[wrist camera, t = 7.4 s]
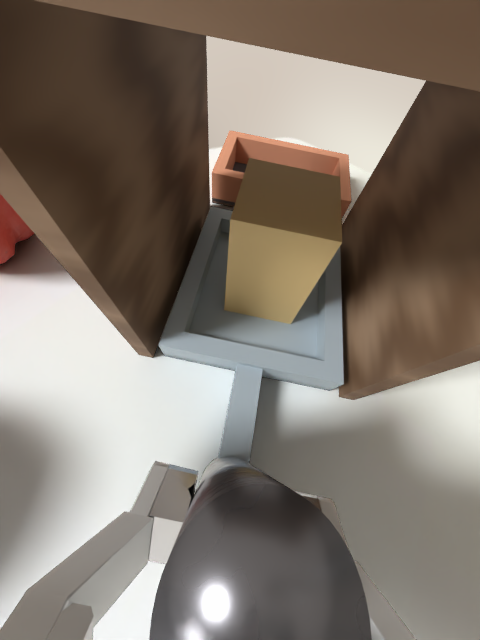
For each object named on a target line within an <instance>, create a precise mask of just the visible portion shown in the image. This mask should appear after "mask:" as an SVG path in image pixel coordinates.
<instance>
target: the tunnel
mask: <svg viewBox="0 0 480 640" xmlns="http://www.w3.org/2000/svg"><path fill="white" fill-rule="evenodd" d="M206 36H211V37H216V38H221V39H226V40H230V41H235V42H240V43H245V44H250V45H255V46H260V47H265V48H270V49H275V50H279V51H284V52H289V53H294V54H299V55H304V56H309V57H314V58H318V59H323V60H328V61H333V62H338V63H343V64H348V65H353V66H358V67H362V68H367V69H372V70H377V71H382V72H387V73H392V74H397V75H402V76H407V77H411V78H416V79H422V80H426V82H425V84H424V86H423V88H422V89H421V91H420V92H419V94H418V96H417V98H416V99H415V101H414V103H413V104H412V106H411V108H410V110H409V111H408V113H407V115H406V117H405V118H404V120H403V122H402V123H401V125H400V127H399V129H398V130H397V132H396V134H395V135H394V137H393V139H392V141H391V142H390V144H389V146H388V147H387V149H386V151H385V153H384V154H383V156H382V158H381V160H380V161H379V163H378V165H377V167H376V168H375V170H374V171H373V173H372V175H371V177H370V178H369V180H368V182H367V183H366V185H365V187H364V189H363V190H362V192H361V194H360V195H359V197H358V199H357V201H356V202H355V204H354V206H353V208H352V209H351V211H350V213H349V214H348V216H347V218H346V220H345V221H344V223H343V225H342V244H341V245H340V256H341V295H342V334H343V374H344V384H343V385H341V386H339V397H342V398H347V399H351V400H355V399H358V398H361V397H364V396H368V395H371V394H374V393H377V392H380V391H384V390H387V389H390V388H393V387H396V386H399V385H403V384H406V383H409V382H412V381H415V380H419V379H422V378H425V377H428V376H431V375H435V374H438V373H441V372H444V371H447V370H450V369H454V368H457V367H460V366H463V365H466V364H470V363H473V362H476V361H479V360H480V0H0V194H1V195H2V196H3V197H4V199H5V200H6V201H7V202H8V203H9V204H10V206H11V207H12V208H13V209H14V210H15V211H16V213H17V214H18V215H19V216H20V217H21V218H22V220H23V221H24V222H25V223H26V224H27V225H28V227H29V228H30V229H31V230H32V231H33V232H34V233H35V235H36V236H37V237H38V238H39V239H40V240H41V242H42V243H43V244H44V245H45V246H46V247H47V249H48V250H49V251H50V252H51V253H52V254H53V256H54V257H55V258H56V259H57V260H58V261H59V263H60V264H61V265H62V266H63V267H64V268H65V269H66V271H67V272H68V273H69V274H70V275H71V276H72V278H73V279H74V280H75V281H76V282H77V283H78V285H79V286H80V287H81V288H82V289H83V290H84V292H85V293H86V294H87V295H88V296H89V297H90V299H91V300H92V301H93V302H94V303H95V304H96V305H97V307H98V308H99V309H100V310H101V311H102V312H103V314H104V315H105V316H106V317H107V318H108V319H109V321H110V322H111V323H112V324H113V325H114V326H115V328H116V329H117V330H118V331H119V332H120V333H121V335H122V336H123V337H124V338H125V339H126V340H127V341H128V343H129V344H130V345H131V346H132V347H133V348H134V350H135V351H136V352H137V353H138V354H139V355H143V356H147V357H152V358H153V357H154V354H155V352H156V349H157V346H158V344H159V341H160V338H161V336H162V333H163V331H164V328H165V325H166V323H167V320H168V317H169V315H170V312H171V309H172V307H173V304H174V302H175V299H176V296H177V294H178V291H179V288H180V286H181V283H182V281H183V278H184V275H185V273H186V270H187V267H188V265H189V262H190V260H191V257H192V254H193V252H194V249H195V246H196V244H197V241H198V239H199V236H200V233H201V231H202V228H203V225H204V223H205V220H206V218H207V215H208V212H209V210H210V190H209V147H208V146H209V145H208V107H207V106H208V105H207V103H208V101H207V56H206Z"/></svg>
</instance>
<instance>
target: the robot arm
mask: <svg viewBox="0 0 480 640" xmlns="http://www.w3.org/2000/svg"><path fill="white" fill-rule="evenodd" d="M197 477H198V471H195V470H191V469H187V468H183V467H179V466H175V465H171V464H166V463H162V462H158V461H155V463H154V464H153V465H152V467H151V469H150V471H149V473H148V475H147V477H146V479H145V481H144V483H143V485H142V488H141V490H140V492H139V494H138V496H137V498H136V500H135V502H134V504H133V506H132V508H131V510H130V512H123V513H122V514H121V515H120V516H118V517H117V518H116V519H115V520H113V521H112V522H111V523H110V524H108V525H107V526H106V527H105V528H104V529H102V530H101V531H100V532H99V533H97V534H96V535H95V536H94V537H92V538H91V539H90V540H89V541H87V542H86V543H85V544H84V545H82V546H81V547H80V548H79V549H77V550H76V551H75V552H74V553H72V554H71V555H70V556H69V557H68V558H66V559H65V560H64V561H63V562H61V563H60V564H59V565H58V566H56V567H55V568H54V569H53V570H51V571H50V572H49V573H48V574H46V575H45V576H44V577H43V578H41V579H40V580H39V581H38V582H36V583H35V584H34V585H33V586H32V587H30V588H29V589H28V590H27V591H26V593H25V594H24V596H23V597H22V599H21V600H20V602H19V603H18V605H17V606H16V607H15V609H14V610H13V612H12V613H11V615H10V616H9V618H8V619H7V621H6V622H5V624H4V625H3V627H2V628H1V630H0V640H93V628H94V626H95V625H96V624H97V623H98V622H99V620H100V619H101V618H102V617H103V616H104V614H105V613H106V612H107V611H108V610H109V609H110V607H111V606H112V605H113V604H114V603H115V601H116V600H117V599H118V598H119V597H120V595H121V594H122V593H123V592H124V591H125V589H126V588H127V587H128V586H129V585H130V584H131V582H132V581H133V580H134V579H135V578H136V576H137V575H138V574H139V573H140V572H141V570H142V569H143V568H144V567H145V566H146V564H147V563H148V561H152V562H158V563H163V564H166V563H167V561H168V558H169V556H170V553H171V551H172V548H173V546H174V543H175V541H176V539H177V536H178V534H179V531H180V529H181V526H182V524H183V521H184V519H185V516H186V514H187V511H188V509H189V507H190V504H191V502H192V499H193V497H194V492H195V486H196V482H197ZM294 492H296V493H298V494H299V495H301V496H302V497H304V498H306V499H307V500H309V501H310V502H311V503H312V504H314V505H315V506H316V507H317V508H318V509H319V510H321V512H322V513H323V514H324V515H325V516H326V517H327V518H328V519H329V520H330V521H331V523H332V524H333V526H334V527H335V528H336V530H337V531H338V532H339V534H340V535H341V537H342V539H343V541H344V542H345V544H346V546H347V547H348V545H347V542H346V539H345V536H344V533H343V529H342V526H341V523H340V520H339V517H338V514H337V510H336V507H335V504H334V502H333V501H332V499H329V498H324V497H320V496H315V495H312V494H307V493H302V492H297V491H294ZM348 549H349V548H348ZM349 552H350V551H349ZM354 562H355V565H356V567H357V570H358V573H359V576H360V578H361V582H362V585H363V589H364V593H365V596H366V601H367V606H368V612H369V617H370V626H371V637H372V640H416V639H415V637H414V636H413V635H412V633H411V632H410V631H409V629H408V628H407V627H406V625H405V624H404V623H403V621H402V620H401V619H400V617H399V616H398V615H397V614H396V612H395V611H394V610H393V608H392V607H391V606H390V604H389V603H388V602H387V600H386V599H385V598H384V596H383V595H382V594H381V592H380V591H379V590H378V588H377V587H376V586H375V584H374V583H373V582H372V580H371V579H370V578H369V576H368V575H367V574H366V573H365V571H364V570H363V569H362V567H361V566H360V565H359V563H358V562H357V561H354Z"/></svg>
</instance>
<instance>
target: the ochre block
mask: <svg viewBox="0 0 480 640" xmlns="http://www.w3.org/2000/svg"><path fill="white" fill-rule="evenodd" d="M341 244H342V217H341V185H340V177H339V176H335V175H330V174H325V173H320V172H315V171H310V170H306V169H301V168H296V167H291V166H286V165H281V164H277V163H272V162H267V161H262V160H257V159H252V158H249V160H248V163H247V166H246V170H245V173H244V176H243V179H242V183H241V186H240V189H239V192H238V196H237V199H236V202H235V205H234V209H233V212H232V215H231V219H230V231H229V246H228V260H227V275H226V290H225V305H224V310H225V311H230V312H235V313H240V314H244V315H249V316H254V317H259V318H263V319H268V320H273V321H278V322H283V323H287V324H291V323H292V321H293V320H294V318H295V316H296V315H297V313H298V312H299V310H300V309H301V307H302V305H303V304H304V302H305V301H306V299H307V297H308V296H309V294H310V293H311V291H312V290H313V288H314V286H315V285H316V283H317V282H318V280H319V279H320V277H321V275H322V274H323V272H324V271H325V269H326V267H327V266H328V264H329V263H330V261H331V260H332V258H333V256H334V255H335V253H336V252H337V250H338V248H339V247H340V245H341Z"/></svg>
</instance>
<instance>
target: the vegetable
mask: <svg viewBox="0 0 480 640" xmlns="http://www.w3.org/2000/svg"><path fill="white" fill-rule="evenodd" d="M33 234H34V232H33V231H32V230H31V229H30V228H29V227H28V225H27V224H26V223H25V222H24V221H23V220H22V218H21V217H20V216H19V215H18V214H17V213H16V211H15V210H14V209H13V208H12V207H11V206H10V204H9V203H8V202H7V201H6V200H5V199H4V197H3V196H2V195H1V194H0V264H2V263H5V262H6V261H7V260H9V259H10V258H11V257H12V256H13V255H14V254H15V244H16V243H17V242H19V241H22V240H26V239H28V238H29V237H31V236H32V235H33Z"/></svg>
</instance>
